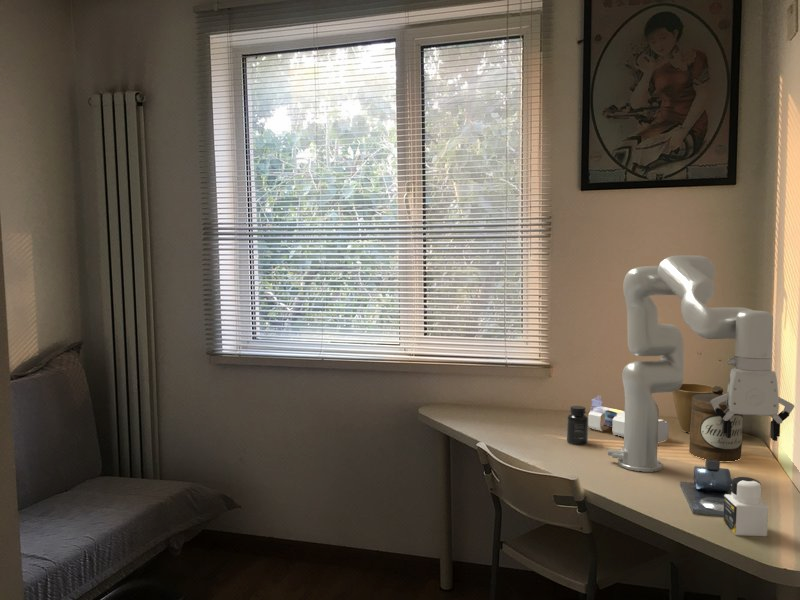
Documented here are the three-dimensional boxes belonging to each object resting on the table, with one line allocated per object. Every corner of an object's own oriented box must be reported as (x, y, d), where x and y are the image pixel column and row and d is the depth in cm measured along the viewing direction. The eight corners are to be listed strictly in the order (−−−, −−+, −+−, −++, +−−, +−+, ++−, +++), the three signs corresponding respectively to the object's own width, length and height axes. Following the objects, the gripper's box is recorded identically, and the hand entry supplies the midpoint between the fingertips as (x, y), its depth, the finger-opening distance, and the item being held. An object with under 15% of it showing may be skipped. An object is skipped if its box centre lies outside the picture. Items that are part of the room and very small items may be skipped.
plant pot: (680, 423, 248) (682, 381, 247) (722, 431, 238) (724, 387, 237) (663, 431, 238) (664, 387, 237) (706, 440, 227) (708, 393, 226)
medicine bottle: (722, 522, 159) (724, 473, 158) (753, 524, 159) (756, 474, 158) (734, 535, 152) (736, 484, 151) (767, 537, 152) (769, 485, 151)
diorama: (587, 430, 241) (588, 394, 239) (604, 425, 247) (605, 390, 246) (651, 446, 221) (652, 407, 220) (668, 441, 227) (669, 403, 226)
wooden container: (707, 463, 203) (710, 392, 201) (679, 449, 217) (682, 382, 216) (751, 461, 205) (755, 390, 203) (721, 447, 220) (724, 381, 218)
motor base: (692, 513, 165) (694, 477, 164) (679, 485, 184) (681, 452, 183) (755, 519, 161) (757, 482, 161) (735, 490, 181) (737, 457, 180)
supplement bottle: (591, 442, 224) (592, 407, 223) (581, 446, 220) (581, 410, 219) (573, 438, 229) (574, 403, 228) (562, 442, 224) (563, 407, 224)
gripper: (715, 365, 152) (712, 439, 153) (800, 368, 148) (797, 445, 149) (708, 360, 159) (706, 431, 160) (789, 363, 155) (787, 436, 156)
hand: (750, 438), depth 154 cm, fingers open, 9 cm apart
